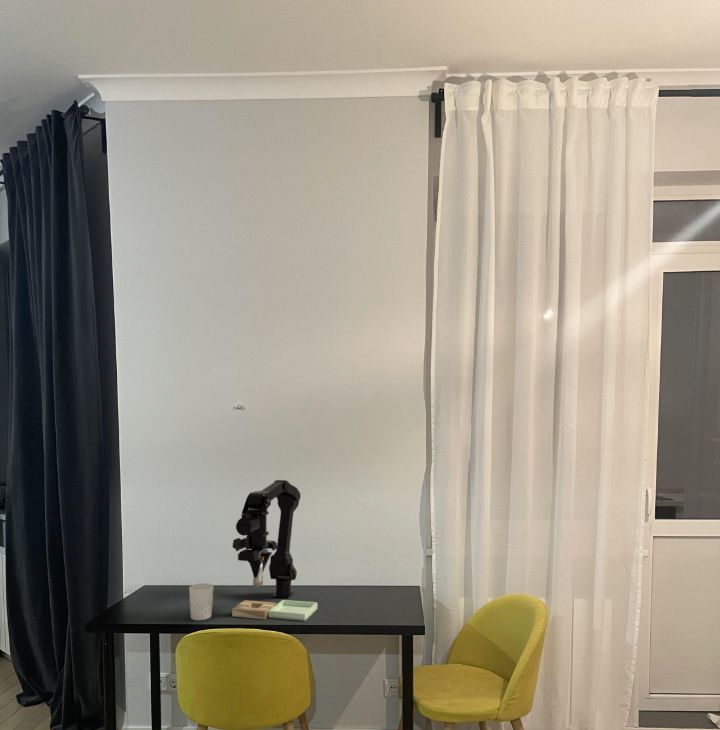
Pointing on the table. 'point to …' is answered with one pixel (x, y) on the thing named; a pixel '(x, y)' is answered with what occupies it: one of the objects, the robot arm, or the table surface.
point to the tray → (293, 610)
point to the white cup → (201, 601)
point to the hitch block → (252, 609)
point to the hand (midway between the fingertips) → (258, 576)
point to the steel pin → (259, 576)
